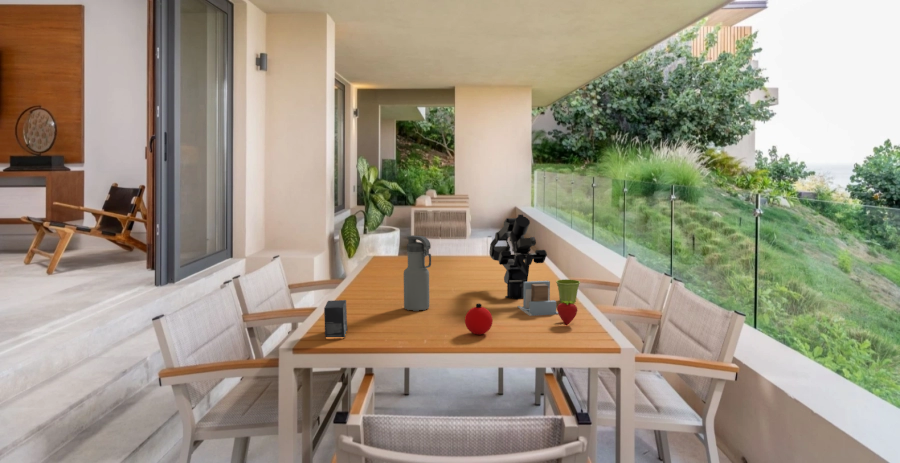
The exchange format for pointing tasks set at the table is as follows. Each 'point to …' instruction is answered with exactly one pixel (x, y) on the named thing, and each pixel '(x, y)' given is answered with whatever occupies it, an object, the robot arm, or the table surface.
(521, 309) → the light blue base plate
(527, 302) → the jaw
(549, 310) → the fixed jaw
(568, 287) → the plant pot
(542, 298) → the block
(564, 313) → the strawberry
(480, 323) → the ornament
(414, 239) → the water bottle
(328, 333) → the small box
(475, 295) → the table surface
